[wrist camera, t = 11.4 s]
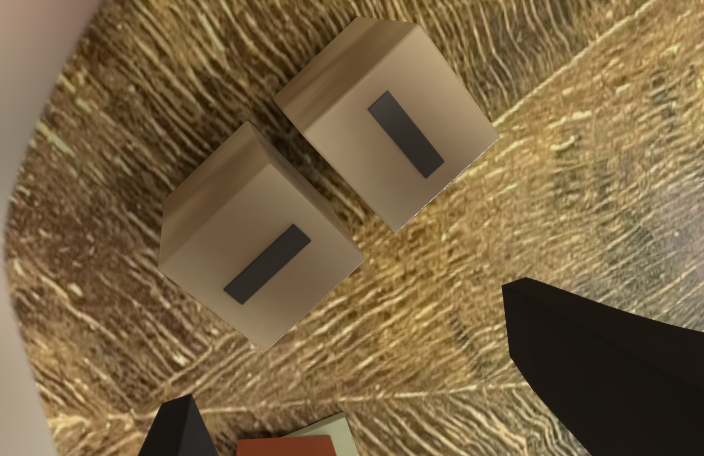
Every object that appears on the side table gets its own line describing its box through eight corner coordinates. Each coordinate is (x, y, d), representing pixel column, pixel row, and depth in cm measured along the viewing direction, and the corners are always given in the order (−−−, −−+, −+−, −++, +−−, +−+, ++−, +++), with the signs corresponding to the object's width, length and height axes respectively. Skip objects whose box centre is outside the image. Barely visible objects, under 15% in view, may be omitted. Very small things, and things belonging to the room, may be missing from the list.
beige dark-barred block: (246, 270, 21) (265, 355, 16) (163, 199, 19) (156, 270, 14) (324, 197, 21) (368, 261, 16) (247, 119, 19) (270, 163, 14)
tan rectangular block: (345, 178, 21) (396, 236, 16) (270, 98, 19) (302, 135, 14) (426, 103, 21) (503, 138, 16) (358, 15, 19) (421, 22, 14)
